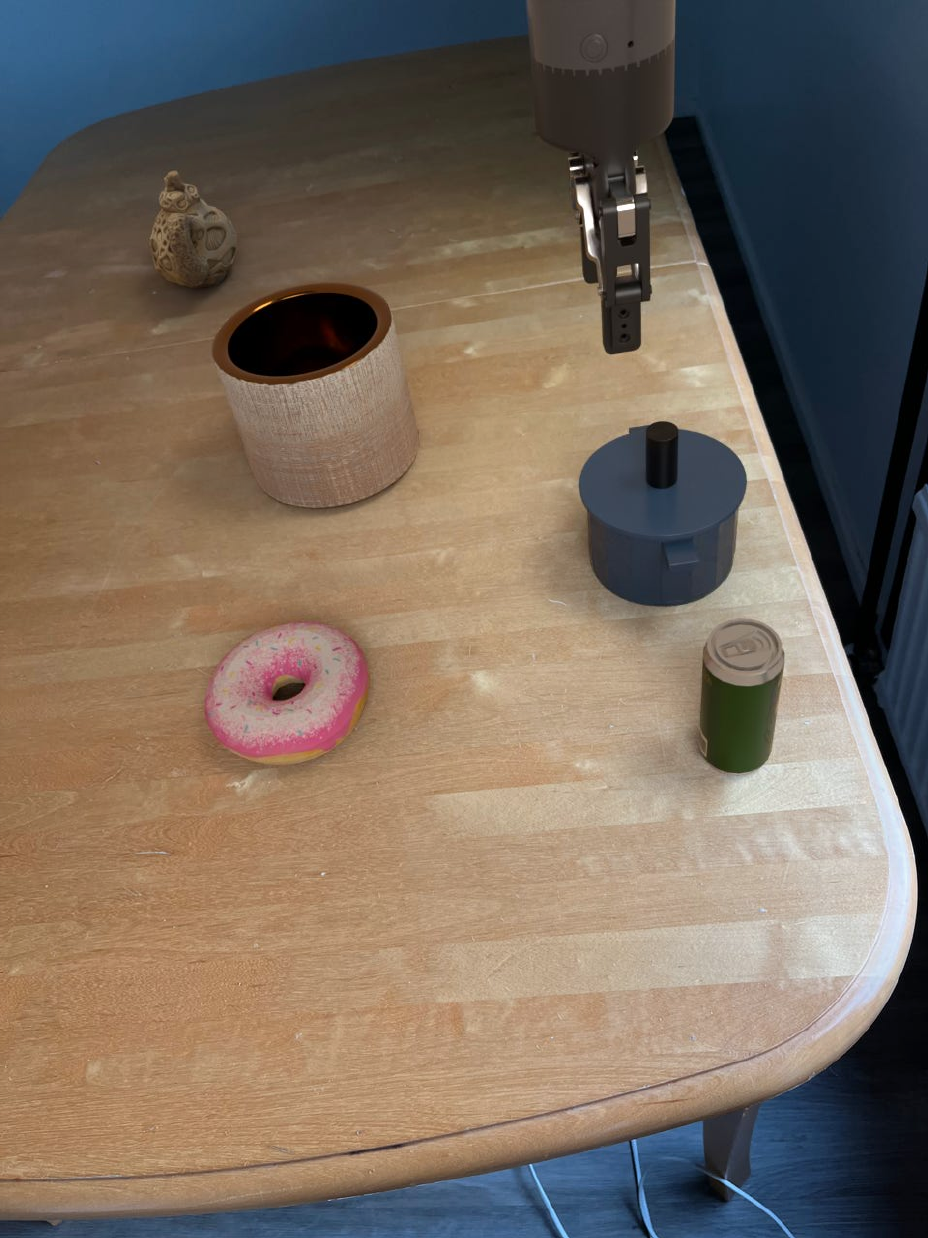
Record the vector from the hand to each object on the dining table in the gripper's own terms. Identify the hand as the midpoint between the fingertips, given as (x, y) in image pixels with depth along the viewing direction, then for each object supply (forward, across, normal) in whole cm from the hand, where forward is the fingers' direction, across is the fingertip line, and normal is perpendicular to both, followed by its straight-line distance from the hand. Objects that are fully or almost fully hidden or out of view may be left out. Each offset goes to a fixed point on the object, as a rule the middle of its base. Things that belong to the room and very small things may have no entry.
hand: (610, 312), depth 65 cm
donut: (+30, -4, +28) cm, 41 cm away
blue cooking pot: (+30, +8, -5) cm, 32 cm away
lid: (+22, +8, -5) cm, 24 cm away
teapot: (+30, +72, +44) cm, 90 cm away
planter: (+30, +29, +25) cm, 49 cm away
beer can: (+30, -14, -6) cm, 34 cm away
